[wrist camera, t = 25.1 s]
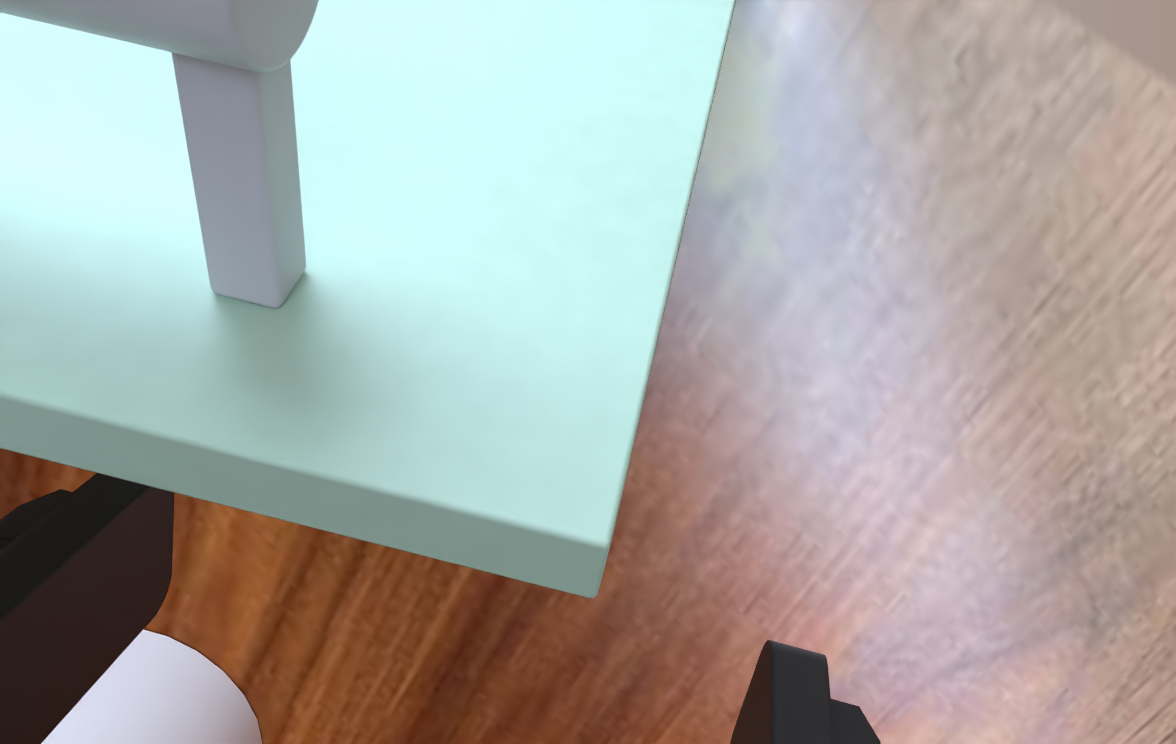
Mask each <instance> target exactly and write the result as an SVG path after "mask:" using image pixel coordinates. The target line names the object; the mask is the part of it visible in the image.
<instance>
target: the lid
mask: <svg viewBox="0 0 1176 744" xmlns="http://www.w3.org/2000/svg"><path fill="white" fill-rule="evenodd" d="M735 2H736V0H0V448H2V449H6V450H10V451H14V452H18V453H22V454H26V455H30V456H33V457H37V458H41V459H45V460H49V461H53V462H57V463H61V464H65V465H69V466H73V467H77V468H81V469H84V470H88V471H92V472H96V473H100V474H104V475H108V476H112V477H116V478H120V479H124V480H128V481H132V482H135V483H139V484H143V485H147V486H151V487H155V488H159V489H163V490H167V491H171V492H175V493H179V494H183V495H187V496H190V497H194V498H198V499H202V500H206V501H210V502H214V503H218V504H222V505H226V506H230V507H234V508H238V509H241V510H245V511H249V512H253V513H257V514H261V515H265V516H269V517H273V518H277V519H281V520H285V521H289V522H292V523H296V524H300V525H304V526H308V527H312V528H316V529H320V530H324V531H328V532H332V533H336V534H340V535H343V536H347V537H351V538H355V539H359V540H363V541H367V542H371V543H375V544H379V545H383V546H387V547H391V548H395V549H398V550H402V551H406V552H410V553H414V554H418V555H422V556H426V557H430V558H434V559H438V560H442V561H446V562H449V563H453V564H457V565H461V566H465V567H469V568H473V569H477V570H481V571H485V572H489V573H493V574H497V575H500V576H504V577H508V578H512V579H516V580H520V581H524V582H528V583H532V584H536V585H540V586H544V587H548V588H552V589H555V590H559V591H563V592H567V593H571V594H575V595H579V596H583V597H587V598H594V597H595V596H596V595H597V594H598V592H599V588H600V584H601V580H602V576H603V572H604V569H605V565H606V561H607V557H608V553H609V550H610V546H611V541H612V537H613V533H614V528H615V524H616V520H617V515H618V511H619V507H620V502H621V498H622V493H623V489H624V485H625V480H626V476H627V472H628V467H629V463H630V459H631V454H632V450H633V446H634V441H635V437H636V433H637V428H638V424H639V420H640V415H641V411H642V407H643V402H644V398H645V393H646V389H647V385H648V380H649V376H650V372H651V367H652V363H653V359H654V354H655V350H656V346H657V341H658V337H659V333H660V328H661V324H662V320H663V315H664V311H665V307H666V302H667V298H668V294H669V289H670V285H671V280H672V276H673V272H674V267H675V263H676V259H677V254H678V250H679V246H680V241H681V237H682V233H683V228H684V224H685V220H686V215H687V211H688V207H689V202H690V198H691V194H692V189H693V185H694V181H695V176H696V172H697V167H698V163H699V159H700V154H701V150H702V146H703V141H704V137H705V133H706V128H707V124H708V120H709V115H710V111H711V107H712V102H713V98H714V94H715V89H716V85H717V81H718V76H719V72H720V67H721V63H722V59H723V54H724V50H725V46H726V41H727V37H728V33H729V28H730V24H731V20H732V15H733V11H734V7H735Z"/></svg>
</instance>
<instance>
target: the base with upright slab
mask: <svg viewBox="0 0 1176 744" xmlns="http://www.w3.org/2000/svg"><path fill="white" fill-rule="evenodd" d="M41 744H263V743H262V739H261V734H260V730H259V725H258V721H257V718H256V716H255V715H254V713H253V711H252V709H251V707H250V705H249V703H248V701H247V700H246V698H245V696H244V694H243V693H242V692H241V691H240V690H239V689H238V687H237V686H236V685H235V684H234V683H233V682H232V680H231V679H230V678H229V677H228V676H227V675H226V674H225V672H224V671H222V670H221V669H220V668H219V667H217V666H216V665H215V664H213V663H212V662H211V661H209V660H208V659H207V658H206V657H204V656H203V655H202V654H200V653H199V652H198V651H196V650H194V649H192V648H190V647H188V646H186V645H184V644H182V643H180V642H178V641H176V640H174V639H172V638H170V637H168V636H165V635H161V634H157V633H154V632H150V631H147V630H142V631H141V633H140V634H139V635H138V636H137V637H136V638H135V639H134V640H133V641H132V643H131V644H130V645H129V646H128V647H127V648H126V649H125V650H124V652H123V653H122V654H121V655H120V656H119V657H118V658H117V659H116V660H115V662H114V663H113V664H112V665H111V666H110V667H109V668H108V669H107V671H106V672H105V673H104V674H103V675H102V676H101V677H100V678H99V679H98V681H97V682H96V683H95V684H94V685H93V686H92V687H91V688H90V690H89V691H88V692H87V693H86V694H85V695H84V696H83V697H82V699H81V700H80V701H79V702H78V703H77V704H76V705H75V706H74V707H73V709H72V710H71V711H70V712H69V713H68V714H67V715H66V716H65V718H64V719H63V720H62V721H61V722H60V723H59V724H58V725H57V726H56V728H55V729H54V730H53V731H52V732H51V733H50V734H49V735H48V737H47V738H46V739H45V740H44V741H43V742H42V743H41Z"/></svg>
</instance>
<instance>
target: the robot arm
mask: <svg viewBox="0 0 1176 744" xmlns="http://www.w3.org/2000/svg"><path fill="white" fill-rule="evenodd" d="M173 519H174V492H171V491H167V490H163V489H159V488H155V487H151V486H147V485H143V484H139V483H135V482H132V481H128V480H124V479H120V478H116V477H112V476H108V475H104V474H100V473H96V474H95V475H94V476H93V477H91V478H90V479H89V480H88V481H86V482H85V483H84V484H83V485H81V486H80V487H79V488H78V489H77V490H75V491H74V492H69V491H65V490H62V489H60V490H58V491H55V492H53V493H50V494H48V495H45V496H42V497H40V498H37V499H35V500H32V501H30V502H27V503H25V504H22V505H20V506H18V507H17V508H16V509H14V510H13V511H12V512H10V513H9V514H8V515H6V516H5V517H4V518H2V519H1V520H0V744H41V743H42V742H43V741H44V740H45V739H46V738H47V737H48V735H49V734H50V733H51V732H52V731H53V730H54V729H55V728H56V726H57V725H58V724H59V723H60V722H61V721H62V720H63V719H64V718H65V716H66V715H67V714H68V713H69V712H70V711H71V710H72V709H73V707H74V706H75V705H76V704H77V703H78V702H79V701H80V700H81V699H82V697H83V696H84V695H85V694H86V693H87V692H88V691H89V690H90V688H91V687H92V686H93V685H94V684H95V683H96V682H97V681H98V679H99V678H100V677H101V676H102V675H103V674H104V673H105V672H106V671H107V669H108V668H109V667H110V666H111V665H112V664H113V663H114V662H115V660H116V659H117V658H118V657H119V656H120V655H121V654H122V653H123V652H124V650H125V649H126V648H127V647H128V646H129V645H130V644H131V643H132V641H133V640H134V639H135V638H136V637H137V636H138V635H139V634H140V633H141V631H142V630H143V629H144V628H145V627H146V626H147V625H148V624H149V622H150V621H151V620H152V619H153V618H154V616H155V615H156V614H157V612H158V610H159V609H160V607H161V605H162V603H163V601H164V599H165V596H166V594H167V591H168V588H169V585H170V581H171V575H172V552H173ZM730 744H880V740H879V739H878V737H877V735H876V734H875V732H874V730H873V729H872V727H871V725H870V724H869V722H868V720H867V719H866V717H865V715H864V714H863V712H862V710H861V709H860V707H859V706H855V705H851V704H848V703H844V702H840V701H837V700H833V699H831V698H830V687H829V676H828V665H827V659H826V656H825V655H823V654H819V653H816V652H812V651H808V650H804V649H801V648H797V647H793V646H789V645H786V644H782V643H778V642H774V641H771V640H767V641H766V643H765V645H764V646H763V649H762V651H761V654H760V657H759V659H758V662H757V665H756V668H755V671H754V674H753V676H752V679H751V682H750V685H749V688H748V691H747V694H746V696H745V699H744V702H743V705H742V708H741V711H740V714H739V716H738V719H737V722H736V725H735V728H734V731H733V735H732V738H731V742H730Z"/></svg>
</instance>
